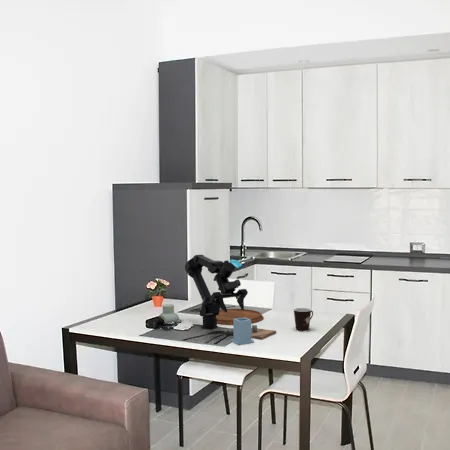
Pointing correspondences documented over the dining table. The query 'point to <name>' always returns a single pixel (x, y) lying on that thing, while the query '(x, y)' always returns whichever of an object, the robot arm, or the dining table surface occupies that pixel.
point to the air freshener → (169, 314)
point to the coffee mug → (302, 318)
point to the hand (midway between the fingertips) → (235, 310)
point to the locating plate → (260, 333)
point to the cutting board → (238, 316)
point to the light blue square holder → (242, 331)
